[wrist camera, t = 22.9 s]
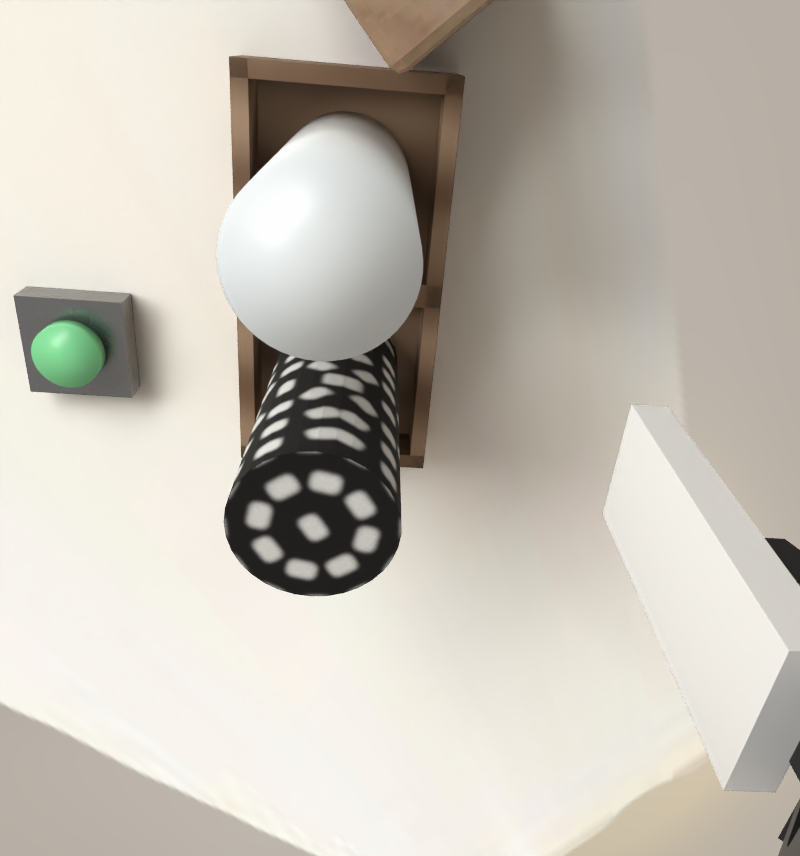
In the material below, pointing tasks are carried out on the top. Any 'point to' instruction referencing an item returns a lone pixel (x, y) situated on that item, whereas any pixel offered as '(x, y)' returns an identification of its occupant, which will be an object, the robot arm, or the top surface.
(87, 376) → the button
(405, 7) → the wooden block
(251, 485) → the spotted tube
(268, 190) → the seated billet
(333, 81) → the divided wooden tray
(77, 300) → the button housing
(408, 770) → the top surface
